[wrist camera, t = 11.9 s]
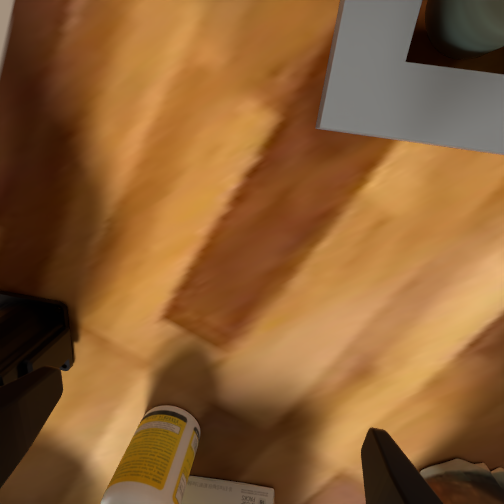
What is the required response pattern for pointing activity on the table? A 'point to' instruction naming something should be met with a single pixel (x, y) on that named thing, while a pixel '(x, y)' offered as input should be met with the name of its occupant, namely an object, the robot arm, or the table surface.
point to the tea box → (225, 492)
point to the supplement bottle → (156, 459)
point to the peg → (465, 26)
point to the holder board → (404, 85)
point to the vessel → (465, 482)
